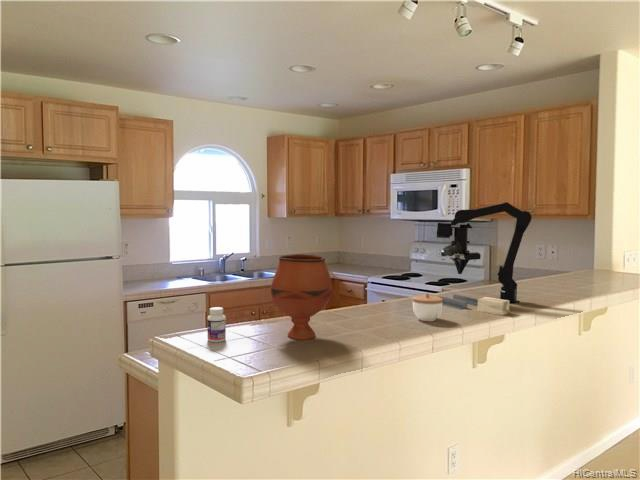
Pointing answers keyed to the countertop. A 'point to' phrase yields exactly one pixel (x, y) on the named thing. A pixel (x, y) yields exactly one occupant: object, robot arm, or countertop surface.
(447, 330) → the countertop surface
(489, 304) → the ash block
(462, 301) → the chute
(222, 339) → the pill bottle
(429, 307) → the lidded jar
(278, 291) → the goblet
